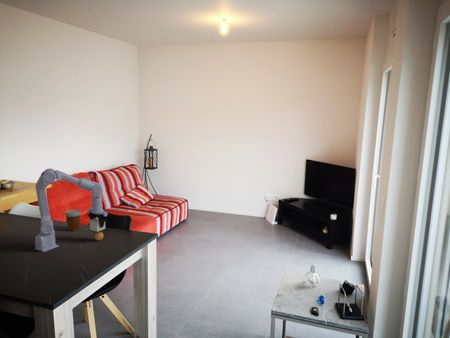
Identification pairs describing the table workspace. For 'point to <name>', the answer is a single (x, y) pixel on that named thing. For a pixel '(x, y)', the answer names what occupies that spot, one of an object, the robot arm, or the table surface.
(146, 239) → the table surface
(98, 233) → the ball
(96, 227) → the pale grey cube
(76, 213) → the disposable coffee cup
